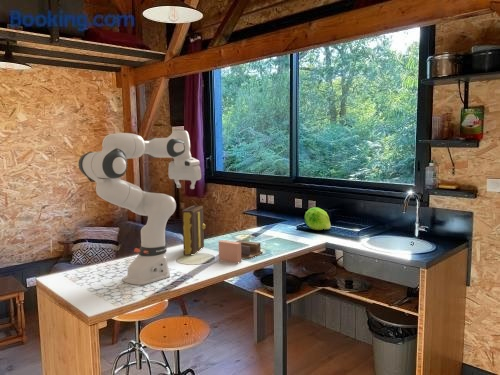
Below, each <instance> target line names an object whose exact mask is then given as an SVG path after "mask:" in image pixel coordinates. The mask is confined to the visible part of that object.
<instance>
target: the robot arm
mask: <svg viewBox="0 0 500 375" xmlns="http://www.w3.org/2000/svg"><path fill="white" fill-rule="evenodd" d="M101 145H102V149H101V151H100V150H99V151H89V152H86V153H83V155H82V156H80V158H79V159H78V169H79V170H80V172H81V173H82V174H83V175H84V177H86V178H87V179H88V181H90V182H91V183H93V182H95V183H96V184H95V185H96V186H95V193H96V195H97V196H98V197H99V198H101V199H102V200H104V201H106V202H108V203H110V204H112V205H115V206H118V207H121V208H123V209H126V210H129V211H130V212H132V213H135V215H139V216H145V217H147V221H146V224H145V225H144V226H142V227H141V229H140V241H141V242H140V247H139V248H137V247H136V248H134V249H133V250H134V251H133V252H134V253H137V256H136V257H135V258H134V259H133V261H132V262H131V263H130V264H129V265H128V269H127V275H125V276H123V277H122V280H121V281H122V282H125V283H126V284H131V285H139V286H143V285H144V286H145V285H147V284H151V283H154V282H157V281H161V280H164V279H168V278H170V277H171V275H170V274H171V272H170V269H169V265H168V258H167V243H166V227H167V222H168V220H169V219H170V217H171V216H173V215H174V213H175V211H176V209H177V203H176V200H175V198H174V197H173V196H171V195H169V194H166V193H160V192H149V191H145V190H142V188H141V187H140V186H139V185H137V184H134V183H131V182H129V181H127V180H123V179H121V177H123V176H124V175H125V174H126V172H127V169H128V159H129V160H130V159H138V158H141V157H142V156H143V155H147V156H148V157H150V158H153V159H156V158H157V159H158V158H160V159H161V158H166V159H167V158H173V160H171V161H169V163H168V172H167V173H168V178H169V179H170V180H173V181H174V183H175V184H176V188H178V189H181V188H182V184H181V183H180V180H181V181H190V183H191V184H190V185H189V188H190V189H191V190H194V189H195V185H196V182H197V181H200V180H202V169H201V167H200V164H201V163H200V160H198V159H197V158H195V157H192V154H191V153H192V152H191V140H190V134H189V132H188V131H187V130H185V129H174V130H173V129H172V132H171V134H170V135H169V136H167V137H151V138H149V139H147V140H144V138H143V137H142V136H141V135H138V134H135V133H132V132H131V133H130V132H117V133H110V134H107V135H106V136H105V137H104V138H103V140H102V143H101Z"/></svg>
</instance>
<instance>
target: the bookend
mask: <svg viewBox="0 0 500 375" xmlns="http://www.w3.org/2000/svg"><path fill="white" fill-rule="evenodd" d="M241 255H246V256H250V246H243V245H241Z"/></svg>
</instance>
